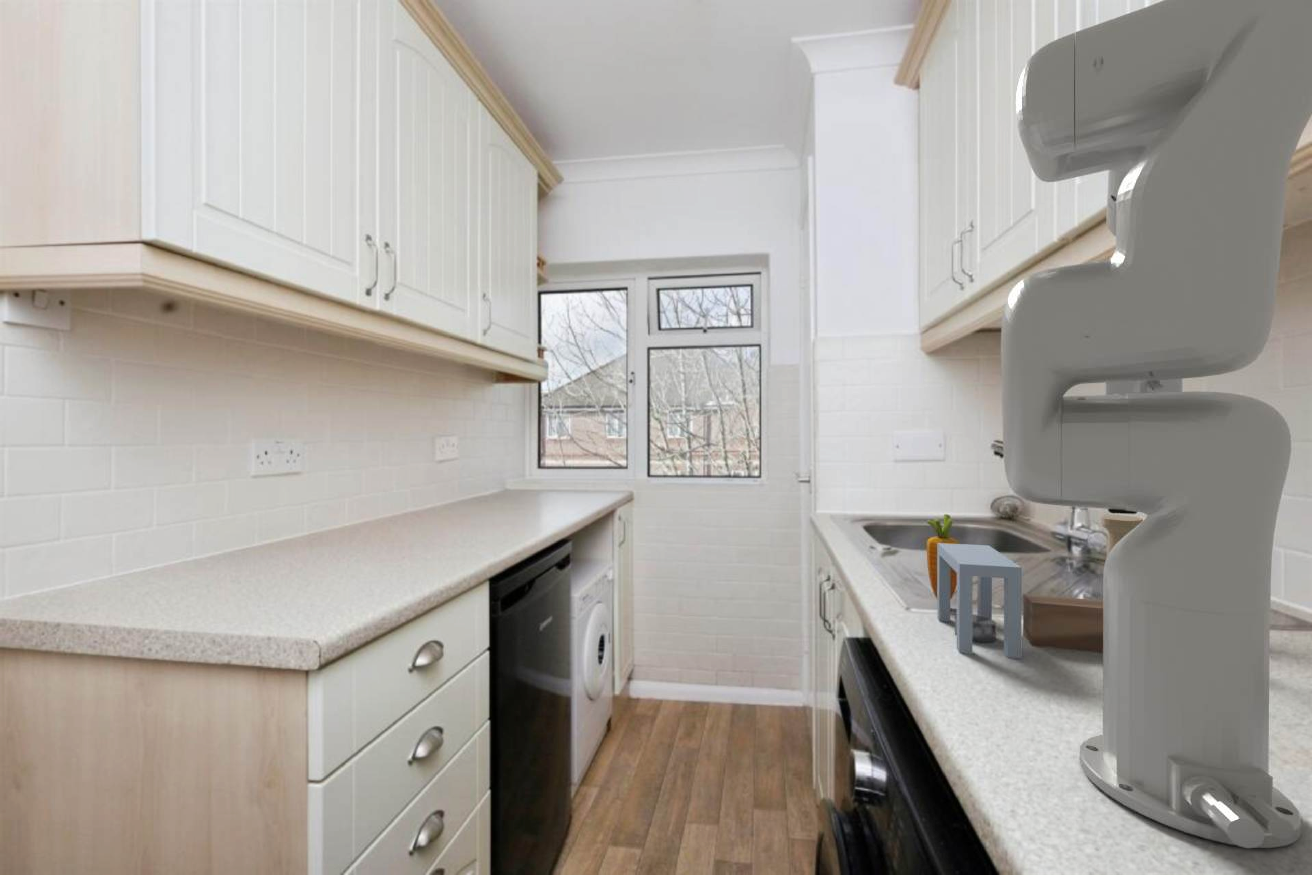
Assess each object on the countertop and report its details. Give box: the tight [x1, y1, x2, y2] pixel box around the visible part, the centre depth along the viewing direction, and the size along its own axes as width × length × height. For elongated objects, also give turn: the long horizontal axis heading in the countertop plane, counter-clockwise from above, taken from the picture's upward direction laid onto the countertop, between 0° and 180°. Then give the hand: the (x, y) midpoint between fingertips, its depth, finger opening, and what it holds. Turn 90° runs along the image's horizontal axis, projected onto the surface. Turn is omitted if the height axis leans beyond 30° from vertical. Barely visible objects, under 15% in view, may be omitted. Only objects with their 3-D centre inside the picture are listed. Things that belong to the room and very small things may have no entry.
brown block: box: [1022, 593, 1103, 654], centre depth 73 cm, size 4×18×6 cm, turn 71°
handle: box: [1100, 514, 1144, 557], centre depth 87 cm, size 5×6×15 cm
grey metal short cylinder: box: [954, 614, 997, 644], centre depth 77 cm, size 5×5×2 cm
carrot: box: [926, 513, 961, 601], centre depth 90 cm, size 5×5×15 cm
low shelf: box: [936, 543, 1023, 660], centre depth 77 cm, size 14×7×12 cm, turn 164°
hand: (1141, 518), depth 73 cm, fingers open, 9 cm apart
